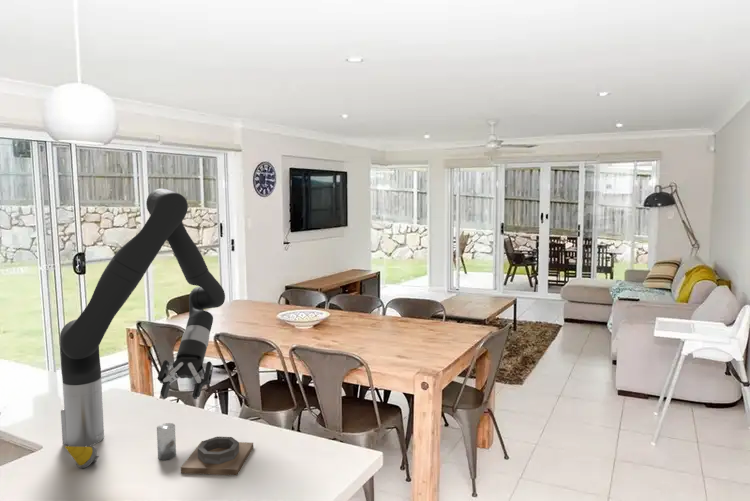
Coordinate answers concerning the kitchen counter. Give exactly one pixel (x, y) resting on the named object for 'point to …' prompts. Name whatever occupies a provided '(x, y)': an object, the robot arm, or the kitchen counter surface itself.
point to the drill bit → (83, 455)
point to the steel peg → (166, 441)
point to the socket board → (218, 457)
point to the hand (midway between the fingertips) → (179, 397)
